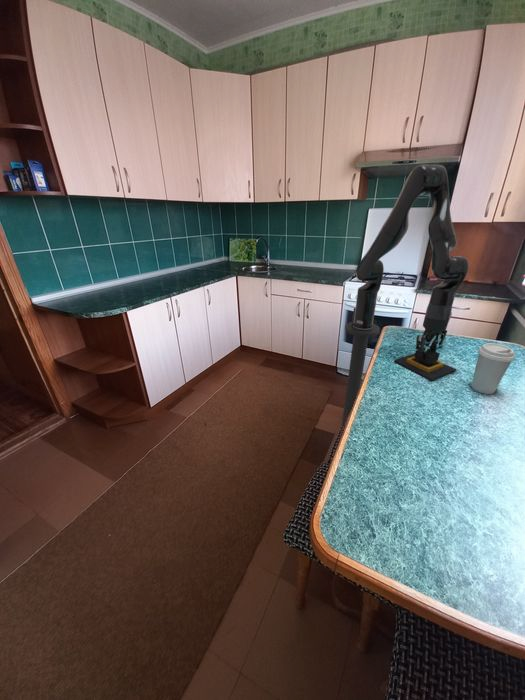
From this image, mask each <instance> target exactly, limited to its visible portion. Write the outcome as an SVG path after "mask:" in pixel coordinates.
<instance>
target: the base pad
mask: <svg viewBox="0 0 525 700" xmlns="http://www.w3.org/2000/svg"><path fill="white" fill-rule="evenodd" d="M414 355H415V352H414V353H412V354H409V355H405V356H402V357H400V358H397V359H394V360H393V363H395V364H396V365H398V366H400V367H402V368H404V369H406V370H408V371H410V372H412V373H414V374H416V375H417V376H419V377H422V378H424V379H426V380H428V381H429V382H434V381H436V380H439V379H441V378H444V377H446V376H448V375H451V374H453V373H455V372H456V371H457V368H455V367H453V366H450V365H448V364H445V362H442V361H439V359H438V360H437V361H435V362H432V363H429V364H427V363H425V362H423V361H421V360H419V359H417V358H415V357H414Z"/></svg>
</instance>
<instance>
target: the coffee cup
mask: <svg viewBox="0 0 525 700" xmlns="http://www.w3.org/2000/svg"><path fill="white" fill-rule="evenodd" d="M477 354H478V356H477V360H476V363H475V368H474V372H473V376H472V381H471V384H470V385H471V386H470V387H471V388H472V389H473V390H474V391H476V392H478V393H482V394H486V395H492V394H494V393H495V392H496V391H497V388H498V387H499V385H500V383H501V381H502V379H503V378H504V376H505V374H506V372H507V371H508V369H509V367H510V365H511V363H512V362H514V361H515V360H516V355H515V350H513V349H512V348H511V347H509V346H507V345H503V344H500V343H494V342H493V343H492V342H488V343H483V345H482V346H479V348H478V349H477Z"/></svg>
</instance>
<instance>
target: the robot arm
mask: <svg viewBox="0 0 525 700" xmlns="http://www.w3.org/2000/svg"><path fill="white" fill-rule="evenodd" d="M449 190H450V189H449V177H448V171H447V169H446V167H445V166H444V165H441V164H428V163H427V164H418V165H416V166H415V167H413V169H412V170H411V172H410V173H409V175H408V176H407V177H406V180H405V182H404V184H403V186H402V188H401V191H400V193H399V195H398V196H397V199H396V201H395V204H394V205H393V208H392V209H391V211H390V212H389V215H388V216H387V218H386V220H385V221H384V223H383V225H382V226H381V228H380V230H379V231H378V233H377V236H376V237H375V239H374V241H373V242H372V244H371V245H370V246H369V249H368V250H367V251H366V253H365V254H364V255H363V257H362V258H361V259H360V261H359V262H358V264H357V266H356V270H355V277H356V278H357V280H359V281H361V282H365V283H364V284H363V285H361V286H359V287H358V288H357V294H356V299H355V300H356V301H355V307H354V308H353V312H352V318H351V319H352V320H351V322H352V326H353V328H355V329H357V330H362V331H368V330H371V329H372V325H373V324H374V318H375V313H376V307H377V301H378V295H379V294H378V293H379V291H380V289H381V285H382V280H383V277H384V269H385V267H384V263H383V262H382V260H380V259H382V258H383V257H385V256H386V255H387V254H388V253H390V252H391V251H393V250H394V249H395V248H396V247H398V245H399V244H400V243H401V241H402V239H403V238H404V237H405V235H406V234H407V232H408V229H409V225H410V223H409V222H410V217H409V216H410V210H411V209H412V206H413V205H414V204H415V202H416V201H417V199H418V198H419V197H429V199H430V202H431V205H432V211H431V215H430V218H429V221H428V227H427V228H428V229H427V231H428V237H429V238H428V239H429V241H430V246H431V249H432V250H431V251H432V252H431V265H430V267H431V272H432V275H433V276H434V277H435V279H438V280H442V282H441V283H439V284H436V285H435V286H434V287H433V288H432V290H431V293H430V297H429V301H428V304H427V307H426V309H425V314H424V317H423V322H422V327H423V328H424V331H423V333H422V335H420V334H417V336H416V343H415V350H419V355H418V359H419V360H422V361H423V360H424V358H425V355H426V351H427V349H431V350H433V351H435V352H437V350H438V348H439V345H442V343H443V341H444V338H445V339H446V336H447V333H448V330H447V328H448V326H449V323H448V322H450V320H449V318H450V315H451V312H453V305H454V302H455V298H456V294H457V292H458V290H459V289H460V287H461V286H462V284H463V282H464V280H465V279H466V277H467V275H468V273H469V269H470V264H469V263H470V262H469V260H468V259H467V257H465V256H461V255H454V256H450V252H451V251H452V250H454V249H455V248H456V247H457V245H458V239H457V235H456V231H455V228H454V224H453V220H452V216H451V206H450V204H451V203H450V191H449ZM450 319H451V318H450ZM440 339H441V340H440ZM442 346H443V345H442ZM424 347H425V348H424Z"/></svg>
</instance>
